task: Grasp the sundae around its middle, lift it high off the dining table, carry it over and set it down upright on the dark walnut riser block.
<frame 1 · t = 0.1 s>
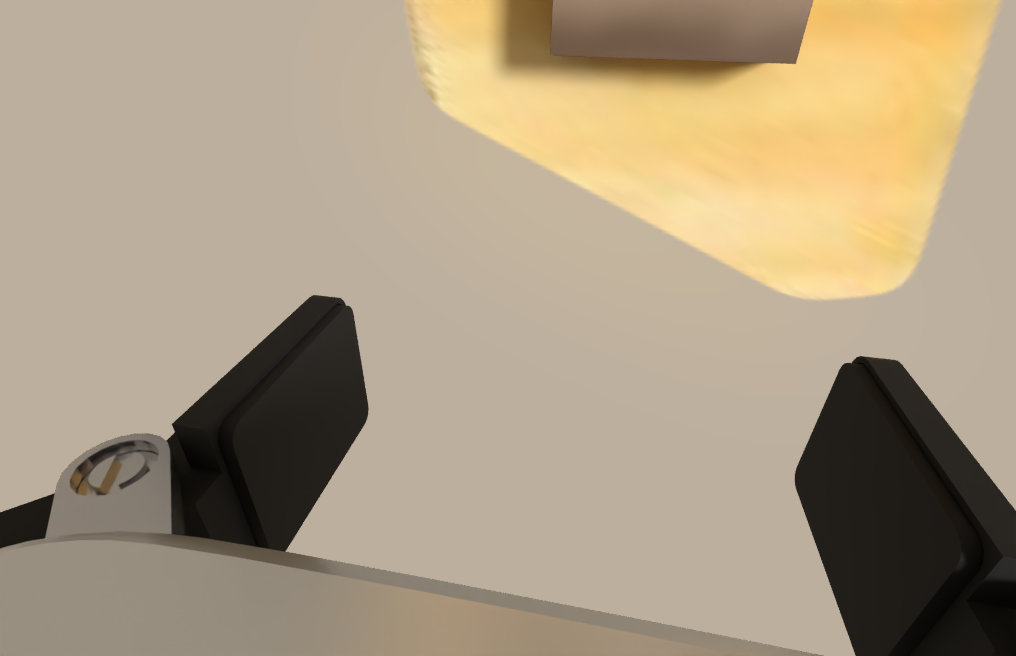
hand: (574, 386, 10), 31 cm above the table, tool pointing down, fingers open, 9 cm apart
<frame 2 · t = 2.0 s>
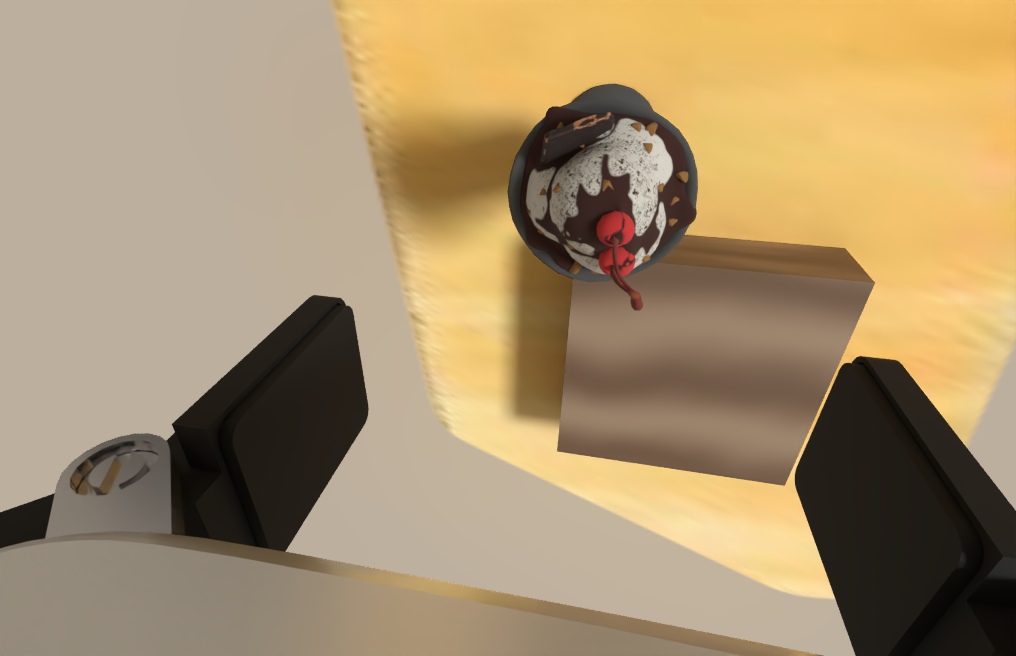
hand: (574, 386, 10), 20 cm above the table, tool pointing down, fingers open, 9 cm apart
riser: (683, 341, 32), on the table
sundae: (609, 135, 27), on the table
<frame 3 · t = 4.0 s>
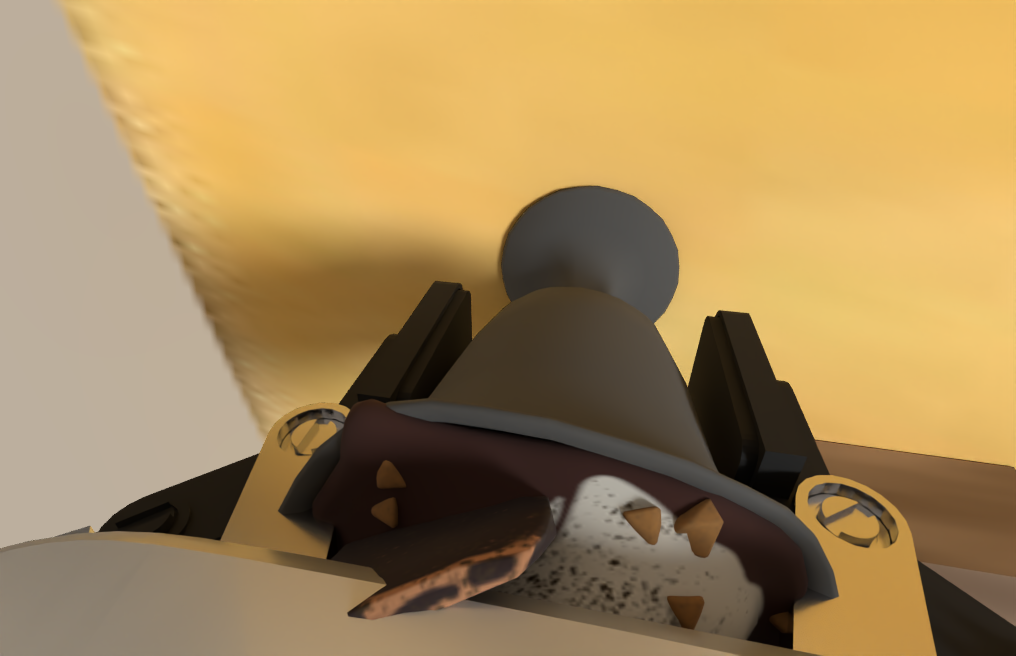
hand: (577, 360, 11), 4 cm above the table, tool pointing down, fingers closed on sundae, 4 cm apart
riser: (714, 567, 20), on the table
sundae: (589, 269, 15), on the table, touching gripper
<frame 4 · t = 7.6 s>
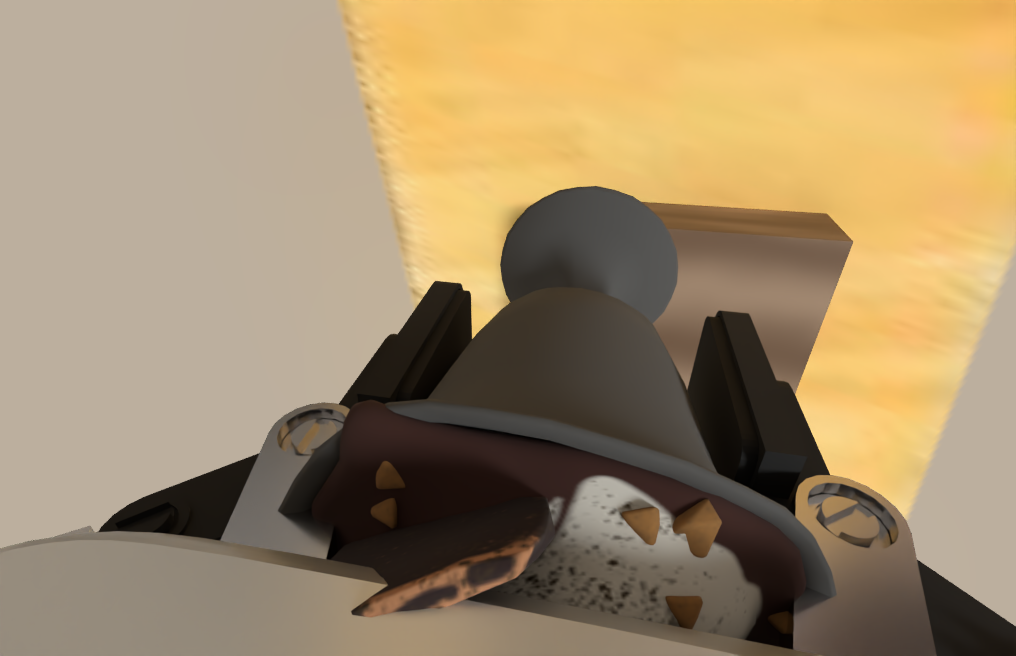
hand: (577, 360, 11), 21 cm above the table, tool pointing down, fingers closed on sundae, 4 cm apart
riser: (674, 310, 34), on the table
sundae: (589, 269, 15), point 17 cm above the table, touching gripper
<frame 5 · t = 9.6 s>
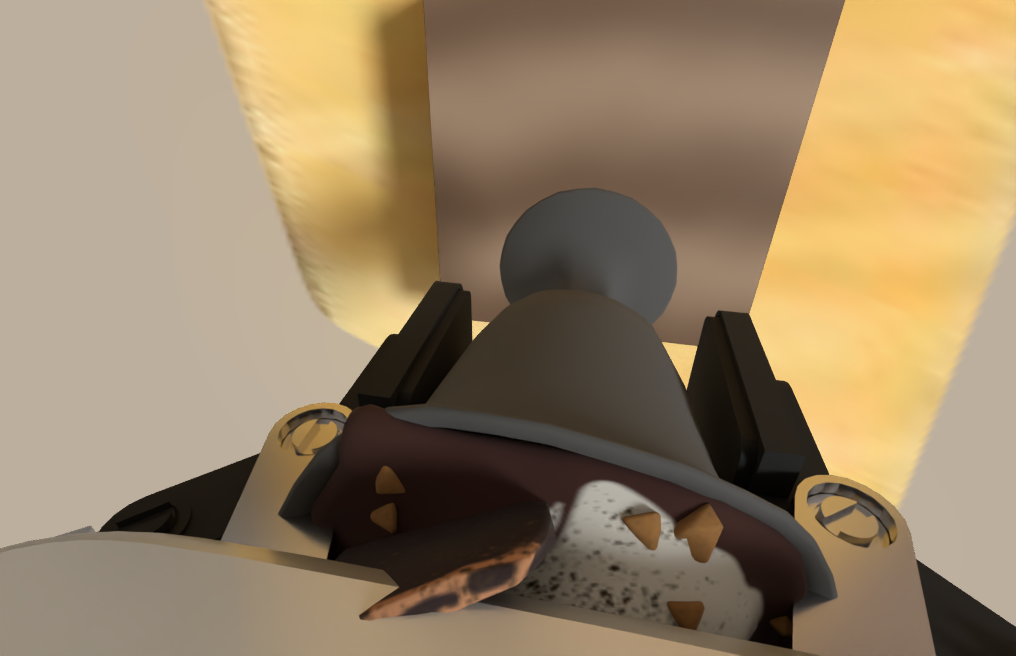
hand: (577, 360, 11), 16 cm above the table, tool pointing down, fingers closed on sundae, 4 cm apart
riser: (603, 162, 24), on the table
sundae: (588, 271, 15), point 11 cm above the table, touching gripper
when the fingers open (9 cm above the table, at t = 11.2 s): sundae moves 1 cm, resting on riser.
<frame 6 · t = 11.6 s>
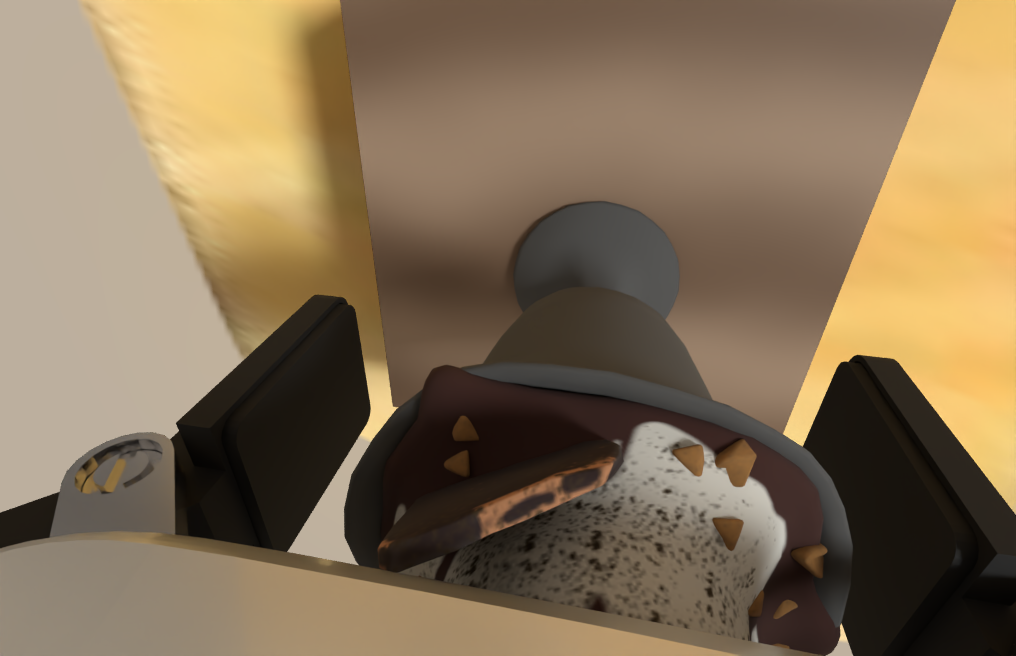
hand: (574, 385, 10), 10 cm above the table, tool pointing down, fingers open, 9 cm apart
riser: (597, 213, 19), on the table
sundae: (596, 279, 16), point 4 cm above the table, touching riser
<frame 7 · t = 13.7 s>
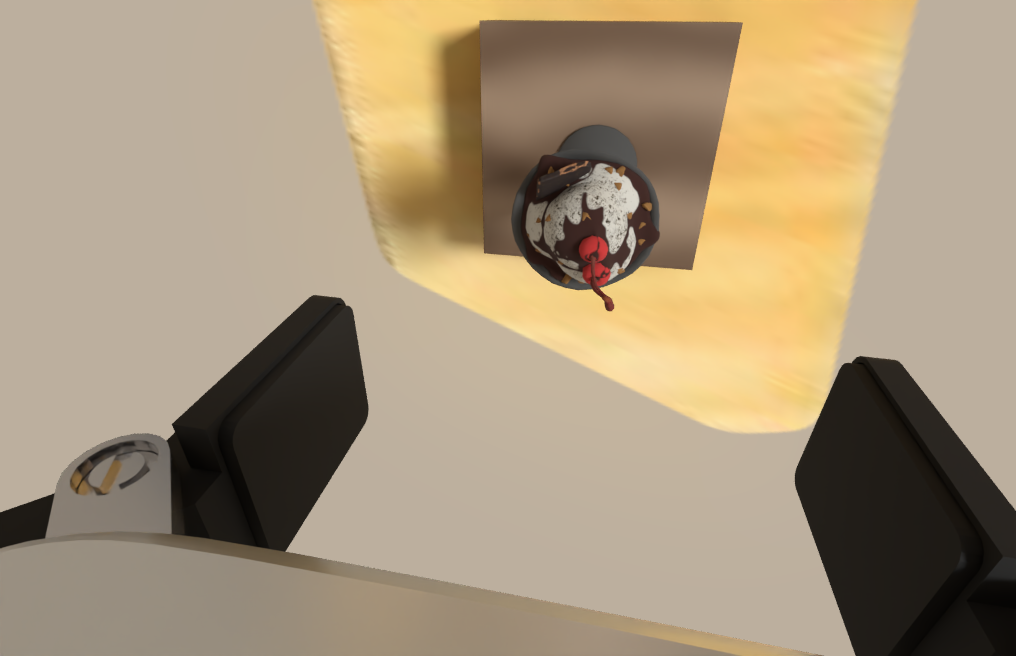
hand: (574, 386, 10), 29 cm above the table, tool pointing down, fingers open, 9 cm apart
riser: (597, 141, 35), on the table
sundae: (596, 166, 32), point 4 cm above the table, touching riser
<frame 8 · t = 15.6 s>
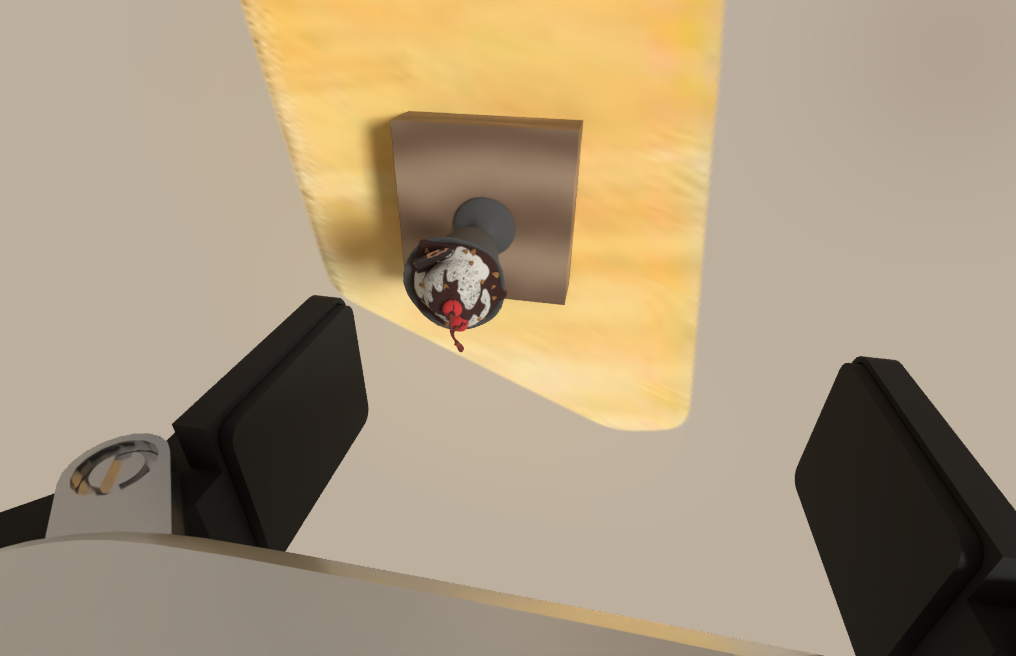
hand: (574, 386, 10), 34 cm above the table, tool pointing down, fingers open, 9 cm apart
riser: (493, 202, 45), on the table
sundae: (486, 226, 42), point 4 cm above the table, touching riser
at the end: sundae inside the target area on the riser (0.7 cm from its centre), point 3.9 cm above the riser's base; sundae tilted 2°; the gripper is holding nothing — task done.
